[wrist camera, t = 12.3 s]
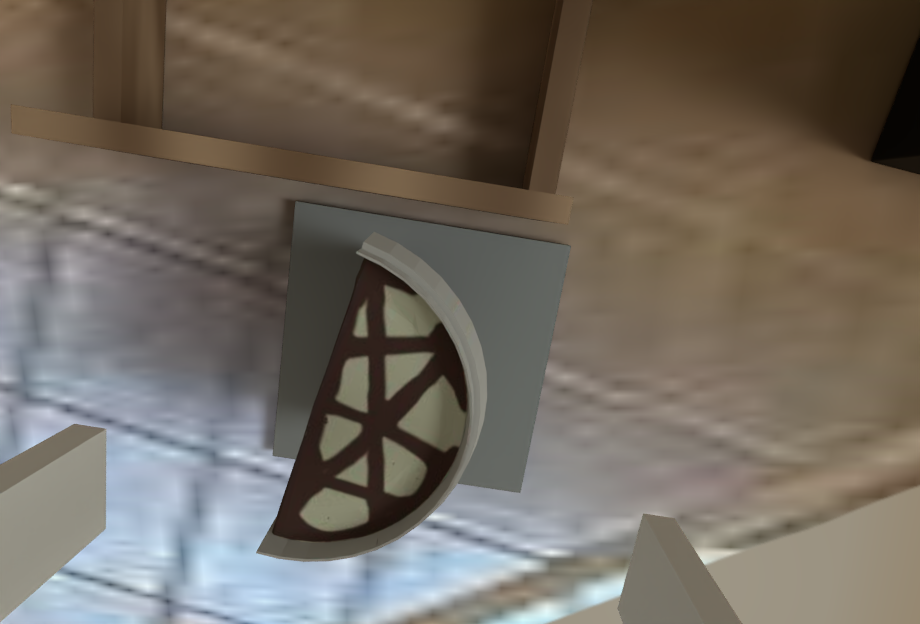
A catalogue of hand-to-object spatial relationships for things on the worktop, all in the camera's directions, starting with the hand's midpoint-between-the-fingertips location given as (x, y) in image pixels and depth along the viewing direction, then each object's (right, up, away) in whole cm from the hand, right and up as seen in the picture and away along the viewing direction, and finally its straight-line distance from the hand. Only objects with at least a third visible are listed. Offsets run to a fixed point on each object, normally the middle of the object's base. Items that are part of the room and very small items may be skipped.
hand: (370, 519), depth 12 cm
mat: (0, +3, +15) cm, 15 cm away
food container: (0, +3, +14) cm, 15 cm away
